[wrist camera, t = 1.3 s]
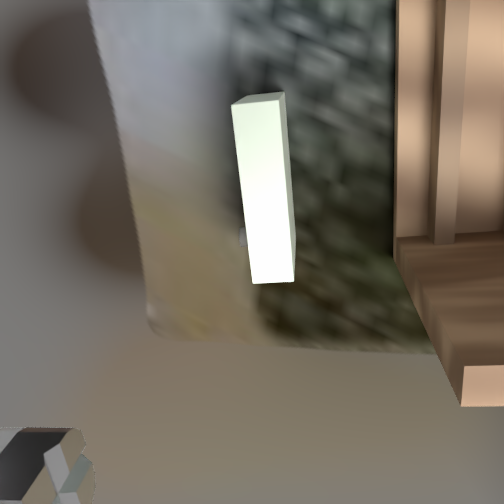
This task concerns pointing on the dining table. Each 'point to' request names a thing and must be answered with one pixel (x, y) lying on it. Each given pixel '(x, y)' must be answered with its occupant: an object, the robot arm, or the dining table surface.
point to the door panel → (265, 186)
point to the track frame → (453, 184)
